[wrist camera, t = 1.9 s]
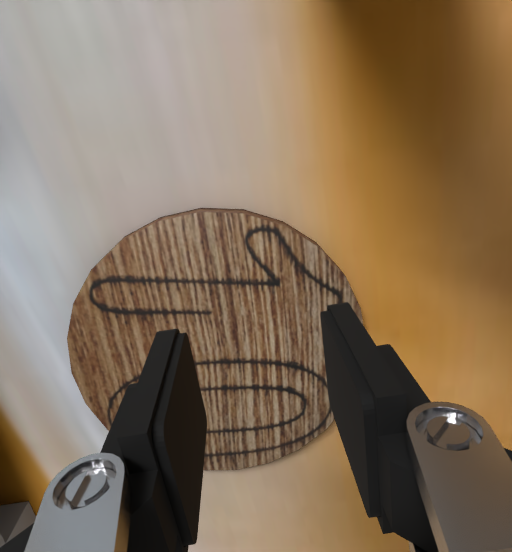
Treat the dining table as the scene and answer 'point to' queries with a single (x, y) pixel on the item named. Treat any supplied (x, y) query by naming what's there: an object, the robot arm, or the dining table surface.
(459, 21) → the dining table surface
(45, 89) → the dining table surface
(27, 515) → the bridge
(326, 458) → the dining table surface
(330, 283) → the trivet
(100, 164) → the dining table surface
